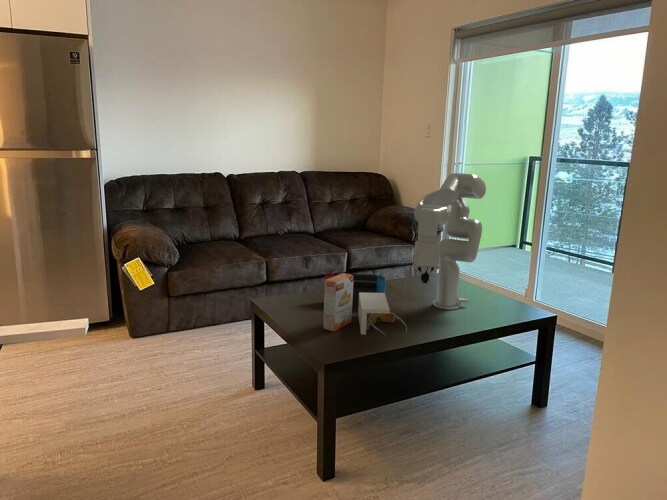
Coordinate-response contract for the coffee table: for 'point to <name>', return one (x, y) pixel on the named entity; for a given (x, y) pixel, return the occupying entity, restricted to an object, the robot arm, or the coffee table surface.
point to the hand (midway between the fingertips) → (424, 282)
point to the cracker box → (338, 301)
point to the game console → (363, 284)
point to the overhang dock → (371, 308)
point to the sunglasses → (383, 319)
